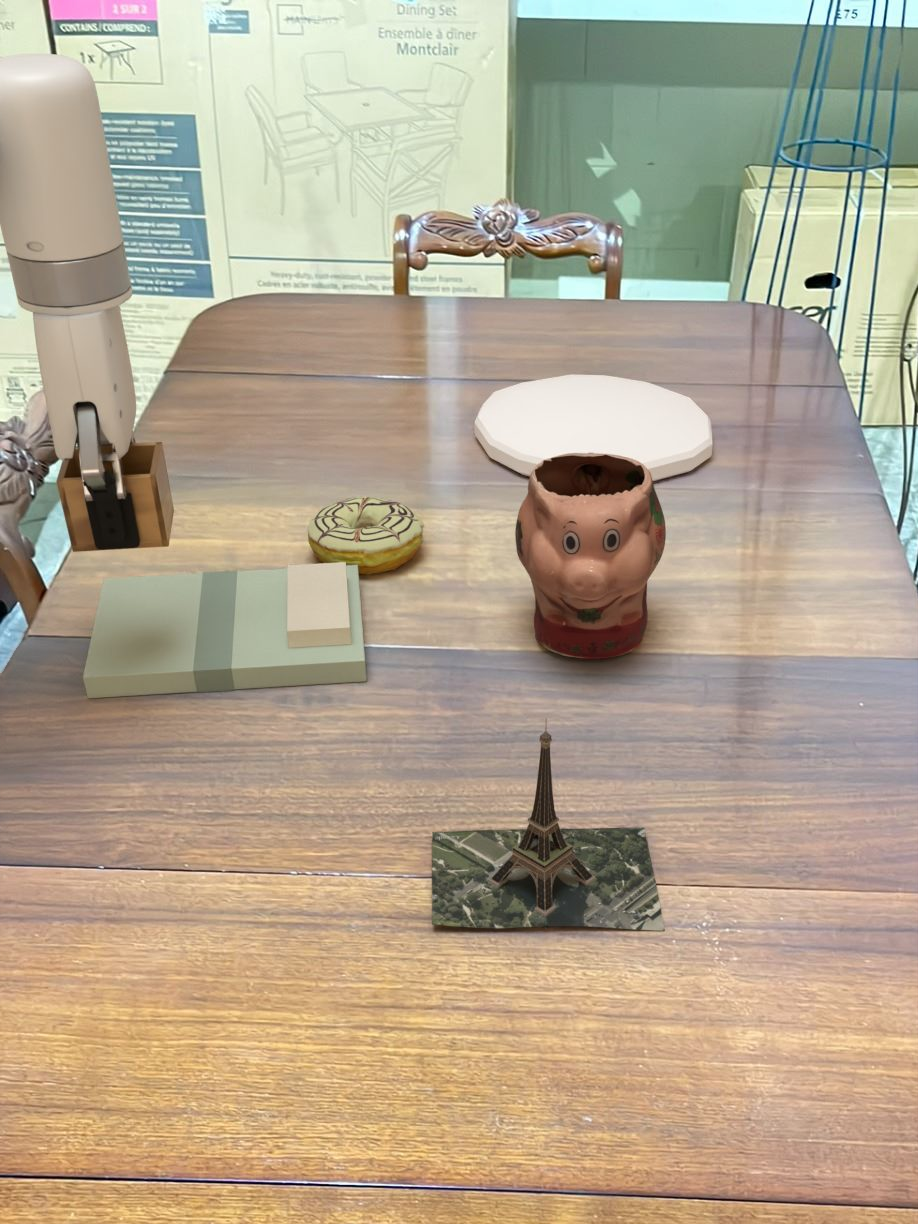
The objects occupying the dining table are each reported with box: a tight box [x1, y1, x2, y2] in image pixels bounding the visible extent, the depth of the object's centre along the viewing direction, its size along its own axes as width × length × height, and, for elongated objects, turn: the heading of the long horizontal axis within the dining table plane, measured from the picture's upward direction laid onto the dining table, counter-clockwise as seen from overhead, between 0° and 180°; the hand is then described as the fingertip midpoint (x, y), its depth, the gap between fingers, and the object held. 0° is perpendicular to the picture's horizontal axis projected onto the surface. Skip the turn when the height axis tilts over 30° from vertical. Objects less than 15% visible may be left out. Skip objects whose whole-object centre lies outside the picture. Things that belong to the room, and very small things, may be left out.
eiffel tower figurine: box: [431, 718, 666, 932], centre depth 86 cm, size 15×10×13 cm
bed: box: [82, 562, 368, 699], centre depth 113 cm, size 22×16×4 cm
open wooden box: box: [55, 441, 175, 553], centre depth 101 cm, size 7×6×6 cm
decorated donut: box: [307, 496, 425, 575], centre depth 124 cm, size 10×11×4 cm
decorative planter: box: [514, 453, 667, 659], centre depth 112 cm, size 20×12×14 cm, turn 3°
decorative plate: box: [474, 373, 714, 482], centre depth 144 cm, size 25×4×25 cm
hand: (122, 523), depth 102 cm, fingers closed on open wooden box, 6 cm apart
